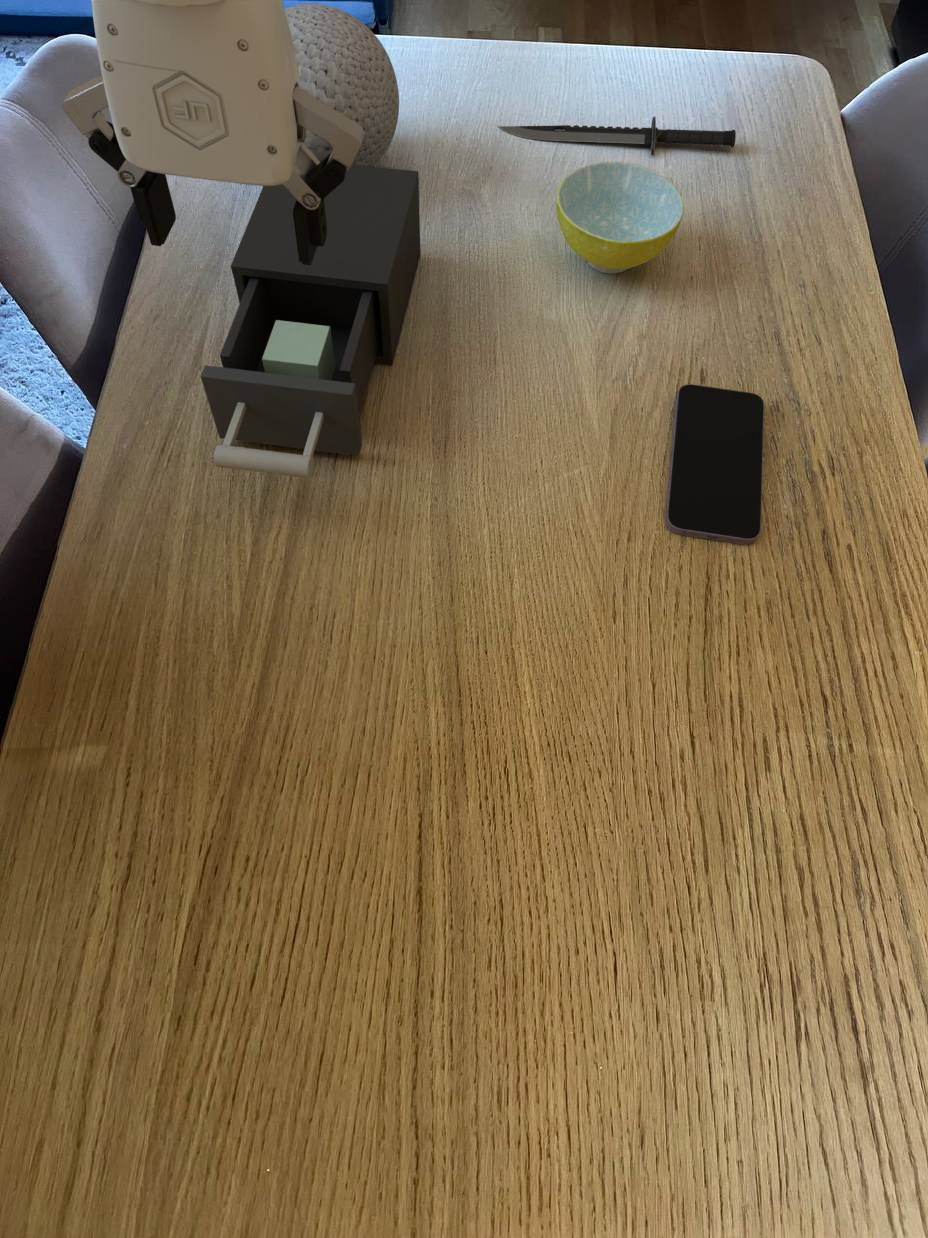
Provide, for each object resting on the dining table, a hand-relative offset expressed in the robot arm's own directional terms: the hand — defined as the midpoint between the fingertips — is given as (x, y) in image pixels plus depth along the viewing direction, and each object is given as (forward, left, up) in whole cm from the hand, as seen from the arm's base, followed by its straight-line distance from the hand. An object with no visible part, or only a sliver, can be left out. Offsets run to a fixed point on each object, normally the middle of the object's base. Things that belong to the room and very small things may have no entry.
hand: (237, 241), depth 59 cm
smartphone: (+35, +2, -18) cm, 40 cm away
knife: (+25, +45, -18) cm, 54 cm away
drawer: (+1, +2, -17) cm, 17 cm away
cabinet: (+1, +16, -18) cm, 24 cm away
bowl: (+25, +26, -18) cm, 41 cm away
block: (+1, +4, -16) cm, 16 cm away
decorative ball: (-4, +34, -18) cm, 39 cm away
